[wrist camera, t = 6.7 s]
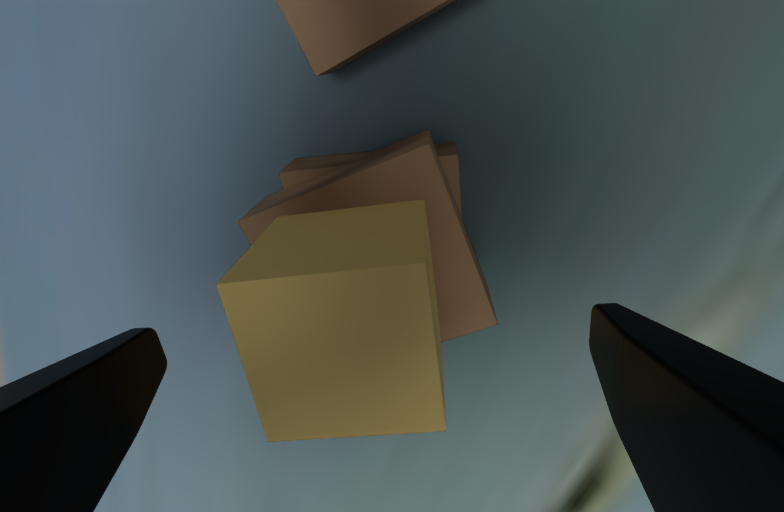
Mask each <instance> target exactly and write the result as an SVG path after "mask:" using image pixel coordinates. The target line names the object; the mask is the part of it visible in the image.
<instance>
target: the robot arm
mask: <svg viewBox="0 0 784 512" xmlns="http://www.w3.org/2000/svg"><path fill="white" fill-rule="evenodd" d="M589 346H590V352H591V355H592V359H593V362H594V365H595V368H596V371H597V374H598V377H599V380H600V383H601V386H602V389H603V392H604V396H605V399H606V402H607V405H608V408H609V411H610V414H611V417H612V419H613V422H614V425H615V427H616V429H617V431H618V434H619V436H620V438H621V440H622V442H623V445H624V447H625V449H626V451H627V453H628V455H629V457H630V460H631V462H632V464H633V466H634V468H635V470H636V473H637V475H638V477H639V479H640V481H641V483H642V485H643V488H644V490H645V492H646V494H647V496H648V498H649V500H650V503H651V505H652V507H653V509H654V511H655V512H784V382H782V381H780V380H778V379H775V378H773V377H771V376H769V375H767V374H765V373H763V372H761V371H759V370H756V369H754V368H752V367H750V366H748V365H746V364H744V363H742V362H740V361H737V360H735V359H733V358H731V357H729V356H727V355H725V354H723V353H721V352H718V351H716V350H714V349H712V348H710V347H708V346H706V345H704V344H702V343H699V342H697V341H695V340H693V339H691V338H689V337H687V336H685V335H683V334H680V333H678V332H676V331H674V330H672V329H670V328H668V327H666V326H664V325H661V324H659V323H657V322H655V321H653V320H651V319H649V318H647V317H645V316H642V315H640V314H638V313H636V312H634V311H632V310H630V309H628V308H626V307H624V306H621V305H619V304H617V303H606V304H596V305H594V306H593V308H592V312H591V324H590V337H589ZM166 368H167V359H166V356H165V353H164V351H163V348H162V345H161V343H160V340H159V338H158V335H157V333H156V331H155V330H154V329H152V328H134V329H130V330H128V331H126V332H123V333H121V334H119V335H117V336H114V337H112V338H110V339H108V340H105V341H103V342H101V343H99V344H96V345H94V346H92V347H90V348H87V349H85V350H83V351H81V352H78V353H76V354H74V355H72V356H69V357H67V358H65V359H63V360H60V361H58V362H56V363H54V364H51V365H49V366H47V367H45V368H43V369H40V370H38V371H36V372H34V373H31V374H29V375H27V376H25V377H22V378H20V379H18V380H16V381H13V382H11V383H9V384H7V385H4V386H2V387H0V512H94V510H95V508H96V506H97V505H98V503H99V501H100V499H101V497H102V496H103V494H104V492H105V490H106V489H107V487H108V485H109V483H110V482H111V480H112V478H113V476H114V475H115V473H116V471H117V469H118V468H119V466H120V464H121V462H122V460H123V459H124V457H125V455H126V453H127V452H128V450H129V448H130V446H131V445H132V443H133V441H134V439H135V437H136V435H137V433H138V431H139V429H140V427H141V425H142V423H143V421H144V419H145V416H146V414H147V412H148V410H149V407H150V405H151V403H152V401H153V398H154V396H155V394H156V392H157V389H158V387H159V385H160V383H161V381H162V378H163V376H164V374H165V371H166Z"/></svg>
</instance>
